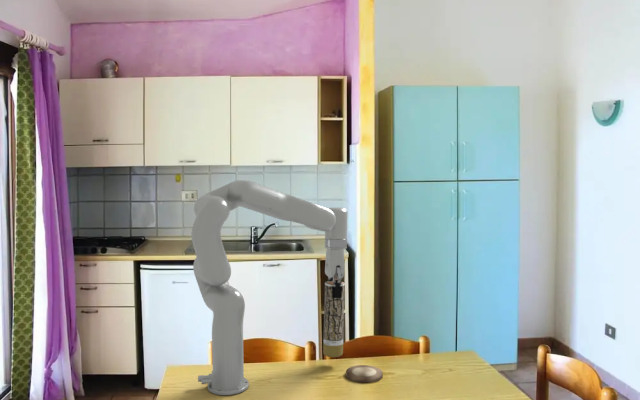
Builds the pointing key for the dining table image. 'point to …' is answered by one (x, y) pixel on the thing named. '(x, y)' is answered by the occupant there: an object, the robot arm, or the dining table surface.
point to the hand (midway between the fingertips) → (334, 295)
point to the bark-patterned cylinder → (333, 322)
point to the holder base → (364, 374)
